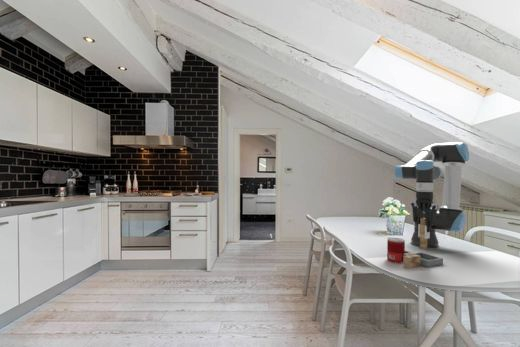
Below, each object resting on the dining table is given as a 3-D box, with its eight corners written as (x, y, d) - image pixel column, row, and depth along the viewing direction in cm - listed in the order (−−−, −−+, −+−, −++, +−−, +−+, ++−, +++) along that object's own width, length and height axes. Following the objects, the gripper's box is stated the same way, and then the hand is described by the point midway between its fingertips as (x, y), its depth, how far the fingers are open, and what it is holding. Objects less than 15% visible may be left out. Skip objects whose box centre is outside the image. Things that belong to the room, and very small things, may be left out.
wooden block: (414, 264, 139) (415, 254, 139) (420, 266, 136) (420, 255, 136) (403, 266, 136) (403, 255, 136) (408, 268, 133) (409, 257, 133)
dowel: (422, 247, 144) (423, 217, 144) (428, 248, 141) (429, 218, 141) (418, 247, 143) (418, 218, 143) (424, 249, 140) (424, 219, 140)
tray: (420, 257, 150) (420, 252, 150) (443, 264, 139) (443, 258, 139) (404, 260, 145) (404, 254, 145) (426, 267, 134) (426, 261, 134)
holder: (402, 253, 157) (402, 249, 157) (415, 257, 150) (415, 253, 150) (391, 255, 154) (391, 250, 154) (404, 259, 147) (404, 254, 147)
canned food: (406, 263, 140) (406, 241, 140) (389, 262, 142) (389, 240, 142) (402, 259, 148) (402, 238, 148) (385, 258, 149) (385, 237, 149)
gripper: (405, 190, 148) (404, 235, 148) (434, 192, 134) (434, 241, 133) (415, 190, 151) (414, 234, 151) (445, 192, 137) (444, 240, 136)
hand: (423, 237), depth 142 cm, fingers closed on dowel, 3 cm apart
